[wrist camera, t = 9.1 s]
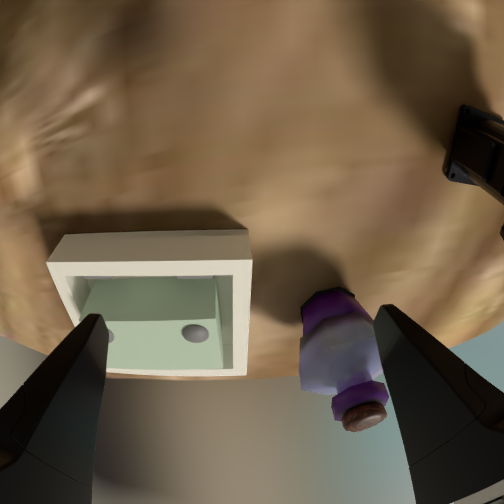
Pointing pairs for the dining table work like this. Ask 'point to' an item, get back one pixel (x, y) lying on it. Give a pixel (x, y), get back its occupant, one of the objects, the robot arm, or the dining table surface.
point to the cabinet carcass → (164, 265)
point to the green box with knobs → (159, 322)
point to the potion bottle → (342, 358)
